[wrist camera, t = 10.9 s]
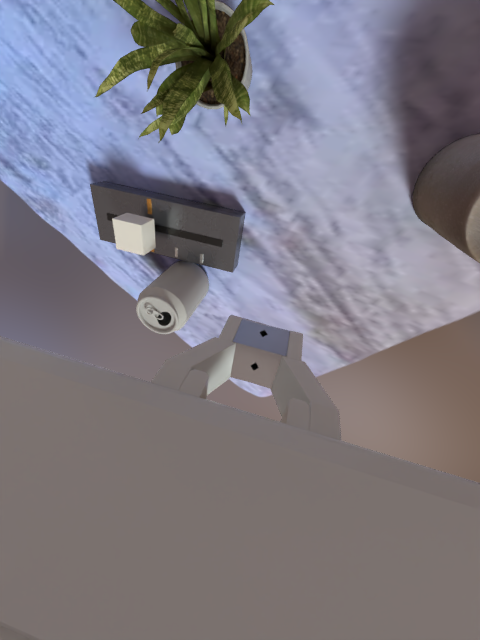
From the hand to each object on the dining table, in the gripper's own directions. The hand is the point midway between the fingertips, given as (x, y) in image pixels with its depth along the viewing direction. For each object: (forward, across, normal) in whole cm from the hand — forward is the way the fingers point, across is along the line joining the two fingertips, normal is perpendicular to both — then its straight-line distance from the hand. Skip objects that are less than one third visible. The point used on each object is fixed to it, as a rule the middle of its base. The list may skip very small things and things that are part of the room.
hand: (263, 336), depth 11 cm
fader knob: (+26, +20, +7) cm, 33 cm away
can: (+29, +15, +16) cm, 36 cm away
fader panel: (+29, +18, +7) cm, 35 cm away
